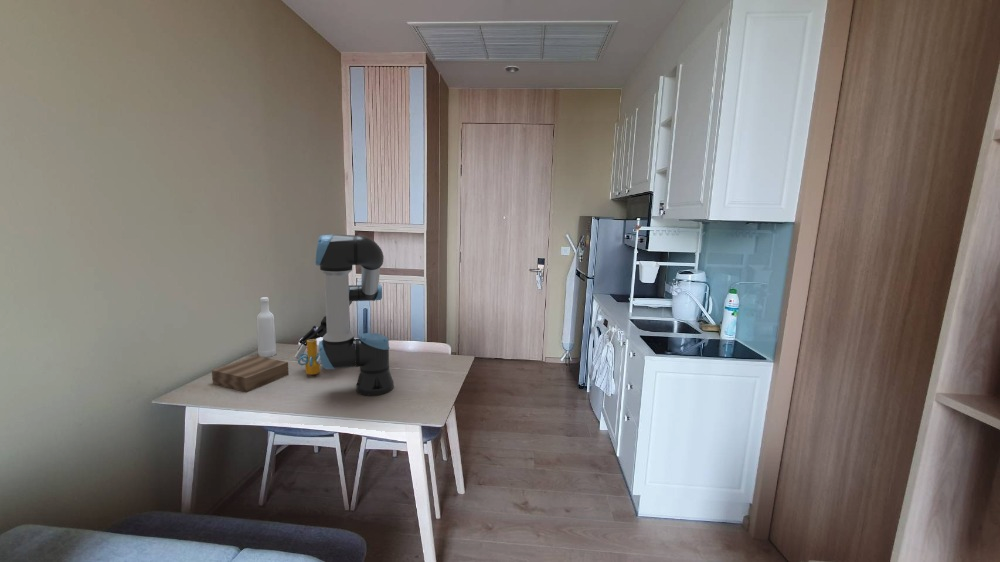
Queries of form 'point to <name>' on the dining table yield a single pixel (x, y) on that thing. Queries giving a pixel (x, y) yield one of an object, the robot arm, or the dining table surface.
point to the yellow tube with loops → (311, 358)
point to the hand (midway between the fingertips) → (307, 360)
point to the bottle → (266, 330)
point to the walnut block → (250, 373)
